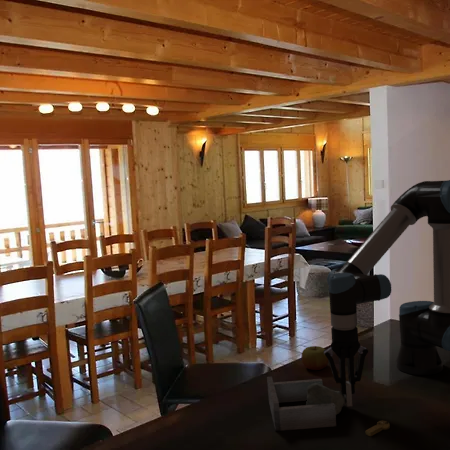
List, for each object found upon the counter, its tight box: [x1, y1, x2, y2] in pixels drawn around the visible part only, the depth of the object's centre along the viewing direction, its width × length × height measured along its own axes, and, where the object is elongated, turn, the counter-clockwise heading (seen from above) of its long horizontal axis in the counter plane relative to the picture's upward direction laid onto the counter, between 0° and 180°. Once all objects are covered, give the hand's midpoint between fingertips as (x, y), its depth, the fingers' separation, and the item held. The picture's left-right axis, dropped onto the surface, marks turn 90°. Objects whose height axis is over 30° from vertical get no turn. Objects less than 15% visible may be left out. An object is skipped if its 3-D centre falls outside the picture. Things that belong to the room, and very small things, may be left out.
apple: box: [301, 345, 329, 371], centre depth 185 cm, size 10×10×8 cm
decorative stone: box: [305, 383, 346, 416], centre depth 151 cm, size 13×11×10 cm
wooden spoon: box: [365, 420, 390, 437], centre depth 138 cm, size 8×3×1 cm, turn 126°
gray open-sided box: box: [266, 376, 337, 432], centre depth 151 cm, size 17×19×8 cm
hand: (348, 404), depth 151 cm, fingers closed
